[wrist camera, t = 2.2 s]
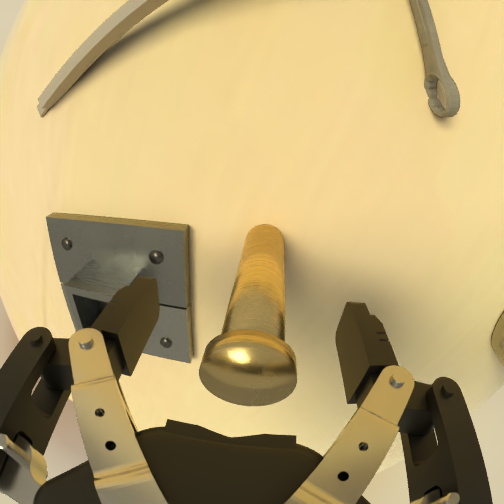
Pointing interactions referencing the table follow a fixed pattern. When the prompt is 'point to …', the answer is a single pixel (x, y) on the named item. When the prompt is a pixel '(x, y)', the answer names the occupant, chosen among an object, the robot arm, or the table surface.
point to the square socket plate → (125, 272)
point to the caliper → (95, 48)
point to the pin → (253, 330)
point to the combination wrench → (434, 62)
